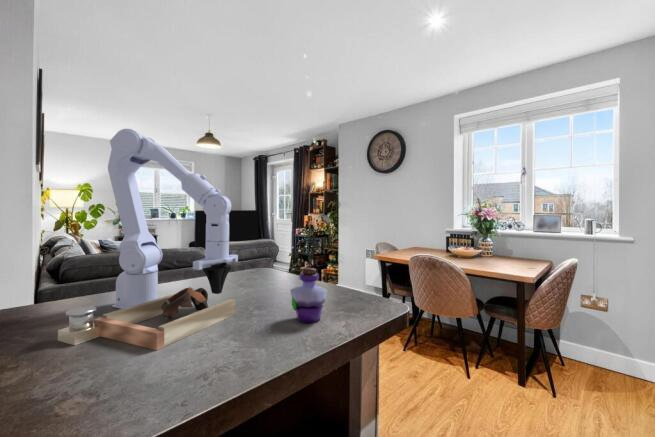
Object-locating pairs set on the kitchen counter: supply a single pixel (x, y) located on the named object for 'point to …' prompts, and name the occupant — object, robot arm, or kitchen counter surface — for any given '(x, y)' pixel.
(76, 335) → the winch drum
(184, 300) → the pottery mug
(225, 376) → the kitchen counter surface
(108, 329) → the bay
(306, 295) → the potion bottle
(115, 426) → the kitchen counter surface
